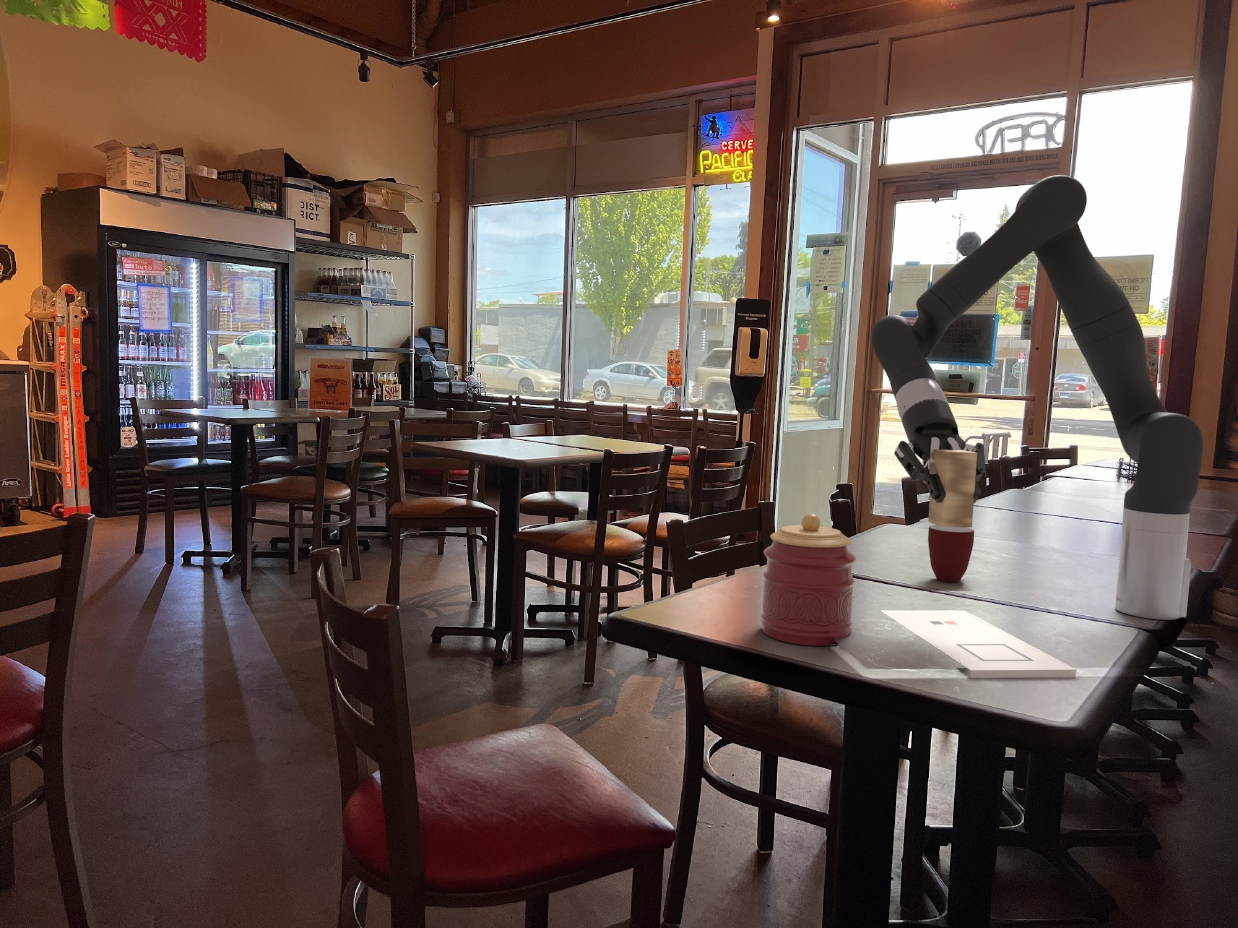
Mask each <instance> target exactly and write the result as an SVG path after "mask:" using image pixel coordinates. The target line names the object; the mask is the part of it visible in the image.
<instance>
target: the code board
mask: <svg viewBox="0 0 1238 928" xmlns="http://www.w3.org/2000/svg"><path fill="white" fill-rule="evenodd" d="M879 612H881V613H883V615H886V616H887V617H888V618H890V619H892V620H893V621H895V622H896V623H898V624H900V625H901V626H903V628H905V629H907V630H909V631H910V632H912V633H913V634H915V635H916V636H918V637H919V638H920V639H922V640H924V641H926V642H927V643H928V644H930V645H931V646H933V647H935V648H936V649H937V650H939V651H941V652H942V653H943V654H945V655H946V656H948V657H950V658H952V659H953V660H954V661H956V662H958V663H959V664H960V665H962V666H963V667H955V669H956V670H958V671H959V672H961V673H962V674H964V675H965V676H967V677H968V678H970V679H1007V678H1009V679H1010V678H1011V679H1012V678H1013V679H1014V678H1015V679H1016V678H1017V679H1018V678H1019V679H1022V678H1023V679H1025V678H1027V679H1029V678H1030V679H1032V678H1033V679H1034V678H1037V679H1038V678H1043V679H1044V678H1076V675H1077V668H1074V667H1072V666H1071V665H1069V664H1067V663H1066V662H1063V661H1061V660H1059V659H1057V658H1056V657H1053V656H1051V655H1050V654H1048V653H1046V652H1044V651H1042V650H1040V649H1038V648H1037V647H1034V646H1033V645H1030V644H1028V643H1027V642H1026V641H1023V640H1021V639H1019V638H1017V637H1015V636H1014V635H1012V634H1010V633H1008V632H1006V631H1004V630H1003V629H1000V628H999V627H996V626H994V625H992V624H991V623H989V622H987V621H985V620H983V619H982V618H979V617H977V616H976V615H973V614H972V613H971V612H968V611H966V610H951V609H949V610H945V609H943V610H942V609H941V610H934V609H933V610H930V609H929V610H923V609H921V610H914V609H913V610H896V609H895V610H885V609H884V610H879Z"/></svg>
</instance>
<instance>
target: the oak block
mask: <svg viewBox="0 0 1238 928" xmlns="http://www.w3.org/2000/svg"><path fill="white" fill-rule="evenodd" d="M933 454H934V457H935V465H936V468H937V474H936V475H939V477H940V479H941V482H942V485H943V487H944V490H945V492H946V497H945V498H944V499H943V501H942V502H941V503H936V501H935V499H933V498H932V497H931V495H929V503H928V504H929V505H928V519H927V523H930V524H932V525H938V526H941V527H966V528H970V529H973V518H974V517H973V515H974V506H975V505H974V504H975V503H974V490H975V476H976V461H977V453H976V452H970V451H963V450H933Z"/></svg>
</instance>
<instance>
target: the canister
mask: <svg viewBox="0 0 1238 928" xmlns="http://www.w3.org/2000/svg"><path fill="white" fill-rule="evenodd" d="M770 539H771V540H772V543H771V545H769V546H768V547H766V548H765V549H764V550H763V554H764V555H765V557H766V559H767V560H766V561H767V562H766V568H765V570H764V571H763V573H762V576H763V592H762V593H763V594H762V595H763V596H762V611H761V613H760V617H761V618H760V622H761V627H762V630H761V631H762V632H763V633H764V634H765V635H767V636H768V637H770V638H772V639H774V640H777V641H780V642H784V643H788V644H794V645H802V646H812V647H813V646H814V647H817V646H818V647H820V646H822V647H825V646H827V647H828V646H834V645H839V642H838V641H836V640H839V639H843V638H846V637H848V636H849V635H850V634H851V632H852V630H853V626H852V625H853V619H852V613H853V597H854V596H853V595H854V594H853V593H854V584H855V578H854V577H853V574H852V572H853V571H852V569H853V568H852V567H853V566H852V565H853V564H854V563H855V561H856V560H857V557H856V555H855V554H854V553H853V552H852V551H850V550H849V547H848V546H849V545H851V542H852V541H851V540H852V539H850V538H849V537H847V536H846V535H845V534H843V533H842V532H841V530H839V529H836V528H831V527H828V526H827V527H826V526H821V519H820V517H819V516H818V515H816V514H814V513H808V514H805V515H804V516H803V517H802V520H801V524H795V525H785V526H781V528H780V529H779V530H776V531H775V532H772V534H770Z"/></svg>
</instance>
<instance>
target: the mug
mask: <svg viewBox="0 0 1238 928" xmlns="http://www.w3.org/2000/svg"><path fill="white" fill-rule="evenodd" d="M974 543H975V530H974V529H973V528H971V527H941V526H938V525H935V524H932V525H929V526H928V535H927V544H928V552H929V560H930V567H931V570H932V571H933V574H934V576H935V578H936V580H937V581H940V582H944V583H949V584H950V583H952V584H954V583H959V582H960V581H961V580H962V578H963V577H964V575H965V574H966V572H967V570H968V568H969V564H970V560H971V557H972V556H971V555H972V552H973V548H974Z"/></svg>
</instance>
